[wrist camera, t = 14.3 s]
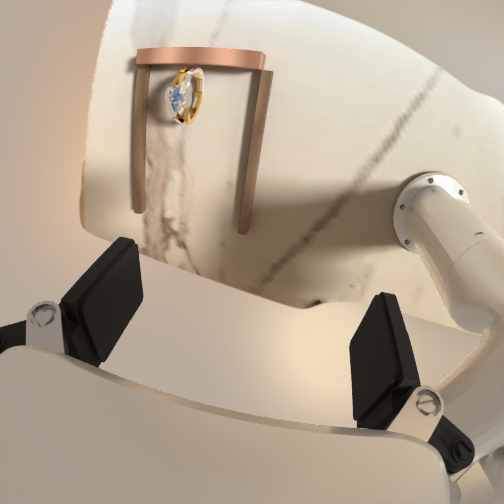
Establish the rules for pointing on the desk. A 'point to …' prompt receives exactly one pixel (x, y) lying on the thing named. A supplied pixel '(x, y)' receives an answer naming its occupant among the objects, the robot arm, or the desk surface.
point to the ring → (185, 95)
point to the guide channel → (199, 58)
